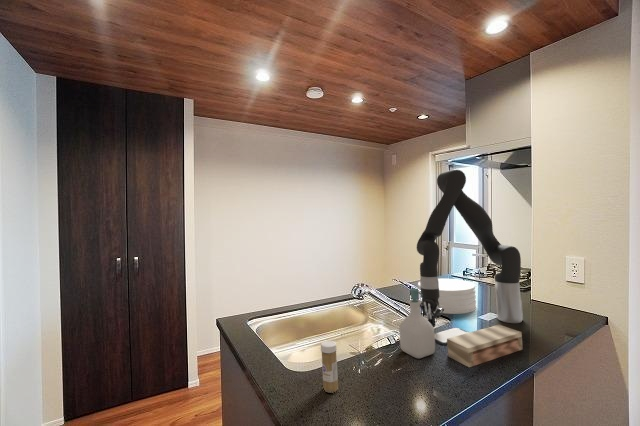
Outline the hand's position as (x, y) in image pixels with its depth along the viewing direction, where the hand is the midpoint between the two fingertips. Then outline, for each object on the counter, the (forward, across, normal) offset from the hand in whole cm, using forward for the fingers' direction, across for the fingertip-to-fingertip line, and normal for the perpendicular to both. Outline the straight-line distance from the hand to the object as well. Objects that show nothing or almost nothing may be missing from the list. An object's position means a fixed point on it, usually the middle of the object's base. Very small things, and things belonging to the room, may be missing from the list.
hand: (431, 326), depth 124 cm
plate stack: (+1, +21, -30) cm, 37 cm away
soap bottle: (+1, -14, +20) cm, 24 cm away
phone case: (+2, -10, 0) cm, 10 cm away
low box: (+1, -25, 0) cm, 25 cm away
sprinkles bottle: (+2, -20, +57) cm, 60 cm away
